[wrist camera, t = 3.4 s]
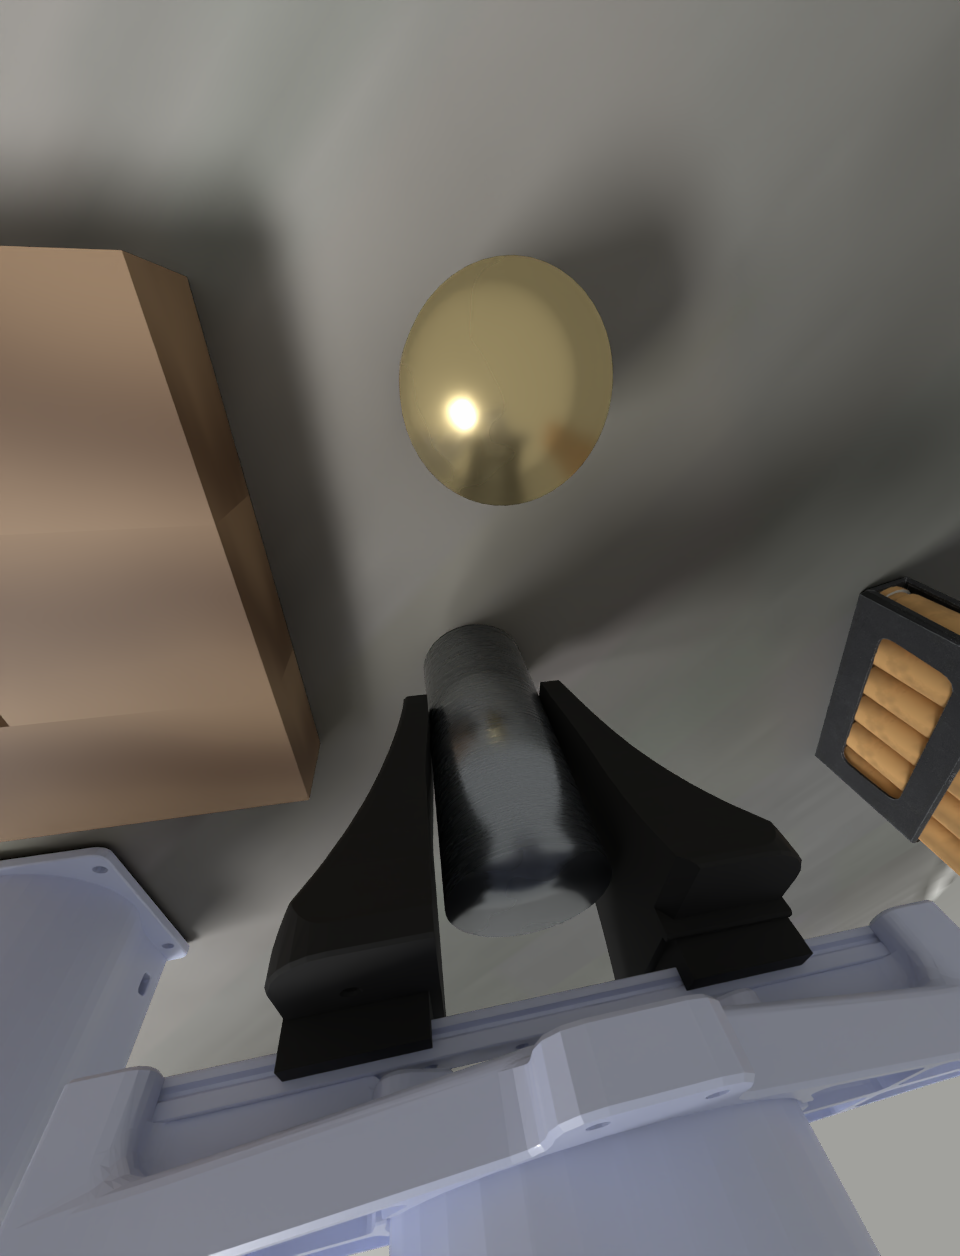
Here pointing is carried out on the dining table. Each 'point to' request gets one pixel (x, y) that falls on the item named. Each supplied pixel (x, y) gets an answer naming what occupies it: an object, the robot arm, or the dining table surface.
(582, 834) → the tall pin
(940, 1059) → the robot arm
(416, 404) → the short pin
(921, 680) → the ammunition clip
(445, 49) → the dining table surface
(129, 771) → the hole board
